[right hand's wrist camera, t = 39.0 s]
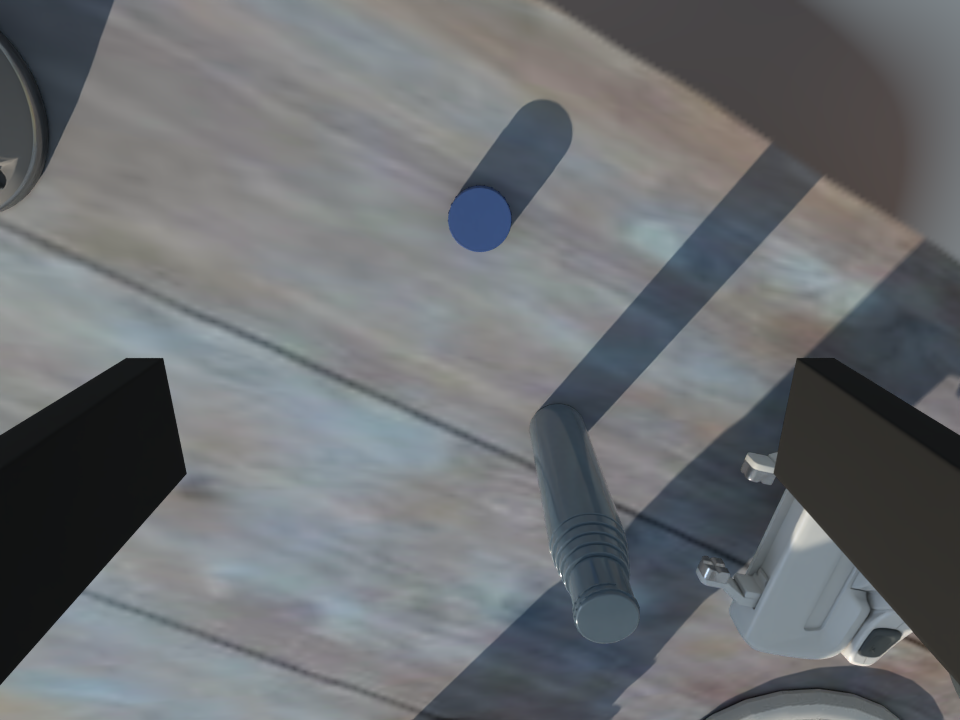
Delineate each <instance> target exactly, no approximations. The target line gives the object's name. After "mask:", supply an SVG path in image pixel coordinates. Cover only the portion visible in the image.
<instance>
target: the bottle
mask: <svg viewBox="0 0 960 720" xmlns="http://www.w3.org/2000/svg"><path fill="white" fill-rule="evenodd" d="M529 430H530V437H531V443H532V449H533V455H534V461H535V467H536V473H537V478H538V484H539V490H540V496H541V502H542V508H543V514H544V519H545V525H546V531H547V537H548V543H549V549H550V554H551V556H552V559H553V563H554V565H555V567H556V569H557V571H558V573H559V575H560V577H561V579H562V582H563V583H564V585H565V588H566V590H567V591H568V593H569V594H570V595H571V600H572V605H573V608H572V612H573V618H574V624H575V626H576V628H577V631H578V632H579V633H580V634H581V635H582V636H583V637H585V638H586V639H588V640H589V641H593V642H596V643H601V644H605V643H614V642H618V641H621V640H623V639H625V638H627V637H628V636H629V635H631V634H632V633H633V632H634V630H635V629H636V627H637V626H638V623H639V617H640V615H639V614H640V610H639V605H638V602H637V600H636V599H635V598H634V595H633V592H632V589H631V586H630V583H629V580H630V571H629V555H628V544H627V540H626V535H625V532H624V529H623V526H622V524H621V521H620V518H619V515H618V513H617V510H616V507H615V505H614V502H613V499H612V497H611V494H610V491H609V488H608V486H607V483H606V480H605V478H604V475H603V472H602V470H601V467H600V464H599V461H598V459H597V456H596V453H595V451H594V448H593V445H592V443H591V440H590V437H589V434H588V432H587V429H586V426H585V424H584V421H583V418H582V416H581V415H580V414H579V412H578V411H576V410H575V409H574V408H572V407H570V406H568V405H564V404H552V405H549V406H546V407H544V408H542V409H541V410H539V411H538V412H537V413H536V414H535V415H534V417H533V418H532V420H531V423H530V429H529Z"/></svg>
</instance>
